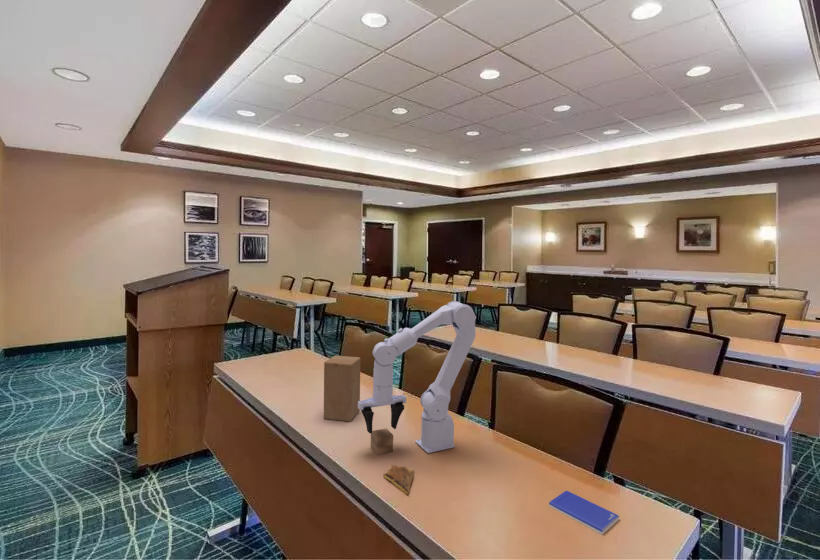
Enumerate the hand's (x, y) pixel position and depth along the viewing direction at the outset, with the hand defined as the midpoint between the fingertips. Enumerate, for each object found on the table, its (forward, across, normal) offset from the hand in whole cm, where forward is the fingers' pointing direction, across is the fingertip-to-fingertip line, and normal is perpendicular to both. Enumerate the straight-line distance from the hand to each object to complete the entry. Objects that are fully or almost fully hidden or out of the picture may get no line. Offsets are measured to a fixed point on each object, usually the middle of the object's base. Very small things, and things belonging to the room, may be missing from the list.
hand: (381, 429), depth 120 cm
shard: (+7, +1, +17) cm, 19 cm away
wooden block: (+6, +3, -29) cm, 30 cm away
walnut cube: (+6, 0, 0) cm, 6 cm away
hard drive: (+6, -30, +46) cm, 55 cm away
